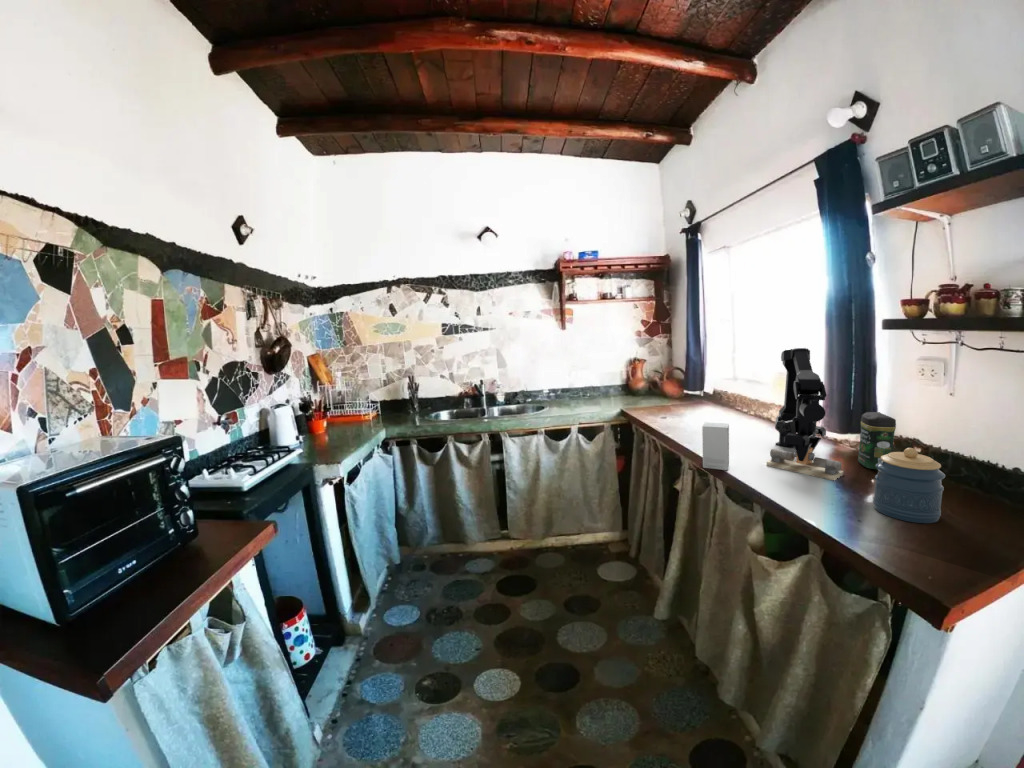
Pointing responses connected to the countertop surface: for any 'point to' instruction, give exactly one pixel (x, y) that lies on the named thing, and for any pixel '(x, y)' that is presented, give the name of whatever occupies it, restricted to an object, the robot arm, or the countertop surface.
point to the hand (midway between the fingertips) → (803, 459)
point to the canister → (909, 487)
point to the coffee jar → (875, 438)
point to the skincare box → (715, 445)
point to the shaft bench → (815, 468)
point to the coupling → (806, 457)
